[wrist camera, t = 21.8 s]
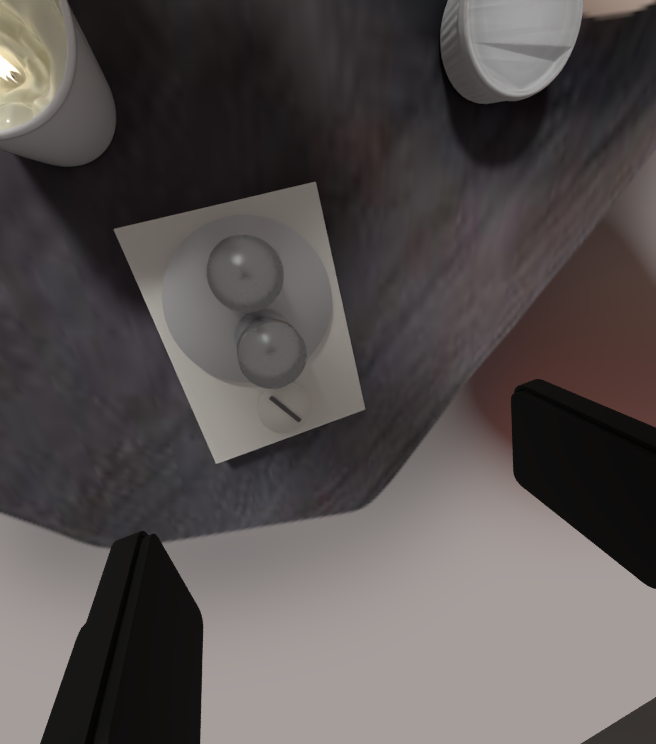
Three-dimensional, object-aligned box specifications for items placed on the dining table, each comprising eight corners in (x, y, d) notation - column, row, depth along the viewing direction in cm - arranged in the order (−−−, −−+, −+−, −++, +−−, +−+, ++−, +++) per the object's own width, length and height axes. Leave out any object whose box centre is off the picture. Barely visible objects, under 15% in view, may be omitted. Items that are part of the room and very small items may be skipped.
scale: (122, 230, 30) (109, 228, 26) (307, 186, 32) (318, 179, 29) (216, 448, 38) (216, 469, 35) (355, 398, 41) (368, 413, 38)
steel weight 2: (221, 337, 31) (222, 358, 25) (263, 296, 31) (273, 307, 25) (264, 375, 33) (273, 401, 27) (303, 336, 33) (320, 355, 27)
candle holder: (13, 190, 27) (-122, 156, 16) (-71, 22, 23) (-322, -173, 12) (149, 166, 29) (111, 120, 18) (93, 6, 25) (0, -175, 14)
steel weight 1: (198, 244, 28) (194, 245, 23) (261, 229, 29) (272, 226, 23) (220, 307, 30) (221, 321, 24) (278, 290, 31) (292, 301, 25)
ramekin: (459, 142, 35) (498, 126, 30) (405, 11, 30) (441, -32, 26) (548, 71, 35) (599, 44, 31) (508, -70, 31) (562, -127, 26)
